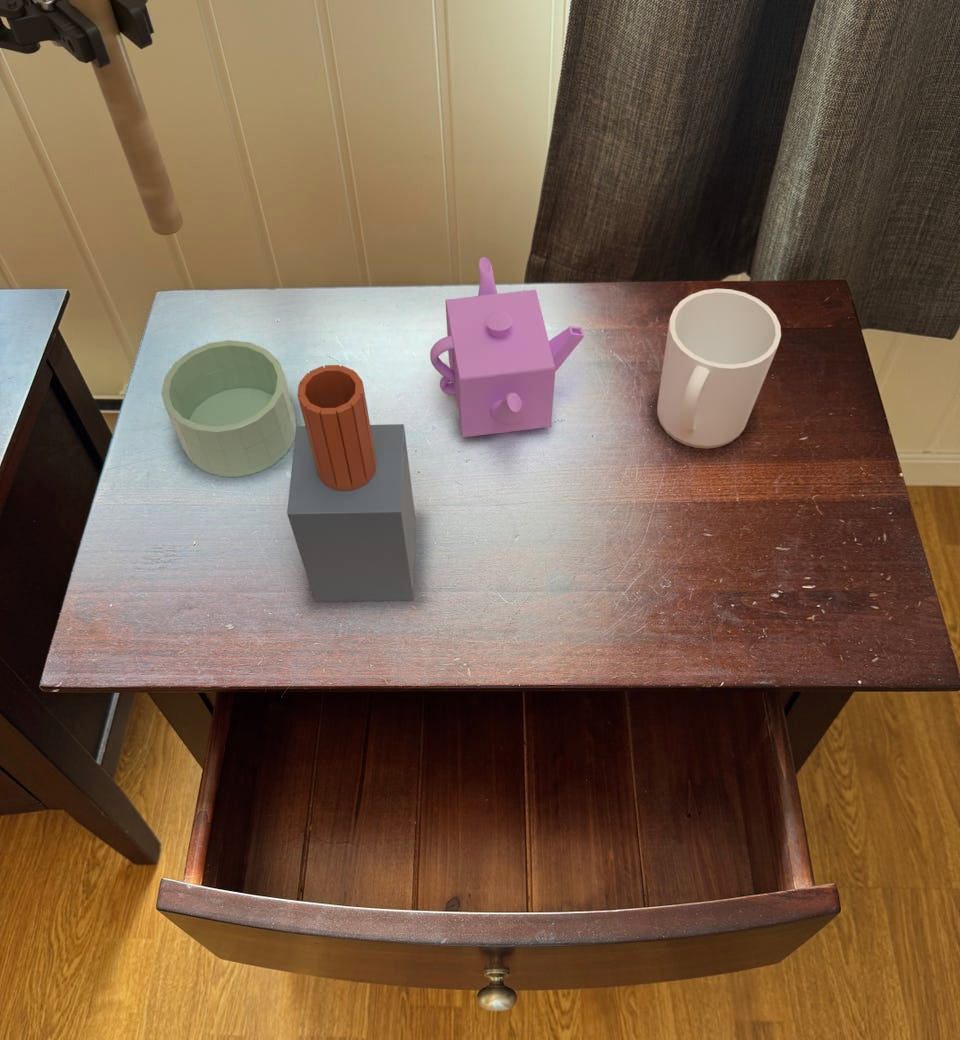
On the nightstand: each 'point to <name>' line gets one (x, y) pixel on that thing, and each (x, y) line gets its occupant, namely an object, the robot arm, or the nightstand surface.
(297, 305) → the nightstand surface
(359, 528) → the holder
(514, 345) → the teapot
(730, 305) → the mug
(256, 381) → the bowl
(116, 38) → the stick
